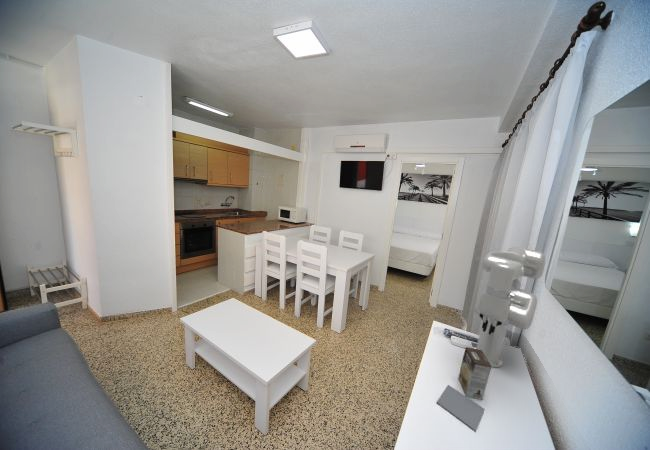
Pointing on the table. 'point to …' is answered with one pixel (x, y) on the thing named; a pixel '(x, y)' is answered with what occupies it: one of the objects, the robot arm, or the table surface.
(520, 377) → the table surface
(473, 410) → the mat
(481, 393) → the coffee box
